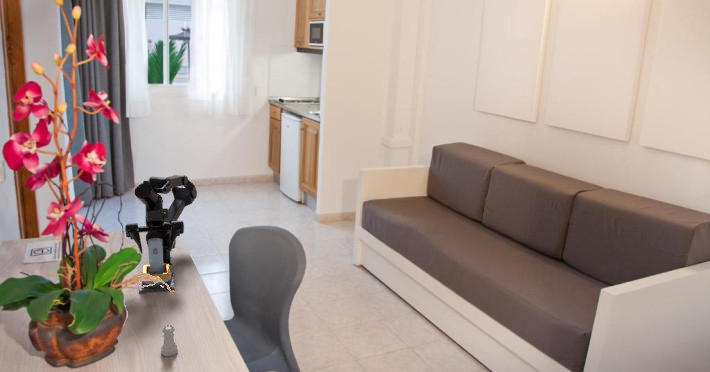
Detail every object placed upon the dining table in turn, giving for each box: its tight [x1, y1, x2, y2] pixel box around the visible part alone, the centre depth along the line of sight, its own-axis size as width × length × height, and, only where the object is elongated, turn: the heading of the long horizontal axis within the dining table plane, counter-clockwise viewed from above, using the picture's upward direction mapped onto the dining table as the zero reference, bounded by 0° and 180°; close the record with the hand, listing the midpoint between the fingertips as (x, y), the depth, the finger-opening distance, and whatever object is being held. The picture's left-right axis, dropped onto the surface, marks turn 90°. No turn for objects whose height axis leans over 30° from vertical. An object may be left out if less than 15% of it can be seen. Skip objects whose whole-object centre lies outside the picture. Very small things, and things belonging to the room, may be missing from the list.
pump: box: [147, 238, 164, 274], centre depth 191 cm, size 6×4×12 cm
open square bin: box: [138, 263, 175, 294], centre depth 194 cm, size 11×11×6 cm
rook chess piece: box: [160, 324, 179, 358], centre depth 157 cm, size 4×4×8 cm
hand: (156, 252), depth 192 cm, fingers open, 9 cm apart
